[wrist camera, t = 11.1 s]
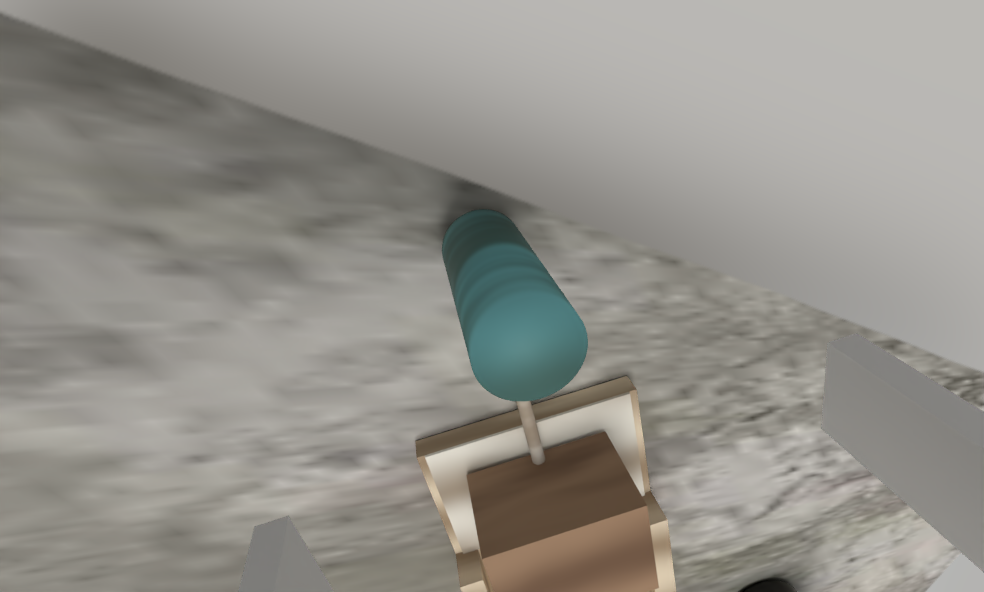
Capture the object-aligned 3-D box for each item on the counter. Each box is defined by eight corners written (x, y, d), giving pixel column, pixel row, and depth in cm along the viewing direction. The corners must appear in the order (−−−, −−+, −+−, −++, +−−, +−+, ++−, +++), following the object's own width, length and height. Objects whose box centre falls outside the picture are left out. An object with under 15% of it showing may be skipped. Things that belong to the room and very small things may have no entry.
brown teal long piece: (381, 237, 26) (379, 341, 17) (560, 185, 26) (651, 260, 17) (492, 549, 36) (527, 715, 27) (619, 508, 37) (694, 658, 28)
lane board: (415, 441, 34) (421, 524, 28) (626, 375, 34) (675, 443, 29) (506, 667, 45) (523, 759, 40) (661, 615, 46) (701, 698, 40)
